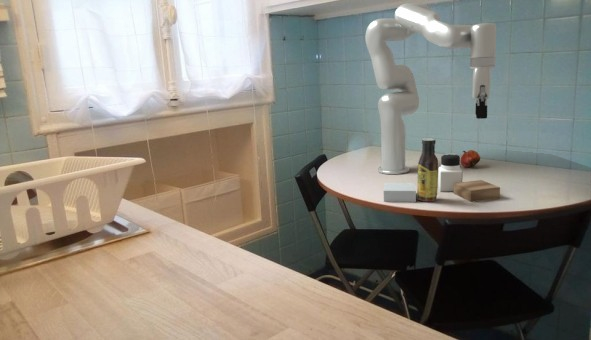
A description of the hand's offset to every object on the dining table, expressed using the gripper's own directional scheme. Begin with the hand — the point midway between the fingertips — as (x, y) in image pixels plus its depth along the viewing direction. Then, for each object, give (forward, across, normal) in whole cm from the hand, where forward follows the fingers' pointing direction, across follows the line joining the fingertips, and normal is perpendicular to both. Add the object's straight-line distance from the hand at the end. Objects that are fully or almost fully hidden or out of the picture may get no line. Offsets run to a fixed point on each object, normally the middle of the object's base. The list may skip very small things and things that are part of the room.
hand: (481, 116), depth 156 cm
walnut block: (+25, +9, -1) cm, 27 cm away
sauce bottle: (+25, +15, -16) cm, 33 cm away
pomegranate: (+25, -33, -2) cm, 41 cm away
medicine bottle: (+25, +1, -9) cm, 27 cm away
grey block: (+25, +14, -25) cm, 38 cm away
